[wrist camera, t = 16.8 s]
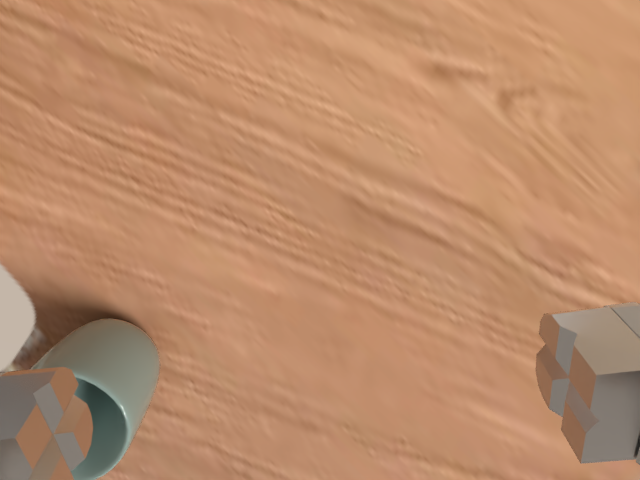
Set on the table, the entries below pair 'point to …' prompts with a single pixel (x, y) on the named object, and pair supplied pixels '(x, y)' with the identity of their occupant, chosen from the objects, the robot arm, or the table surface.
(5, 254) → the table surface
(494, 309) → the table surface
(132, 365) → the cup
